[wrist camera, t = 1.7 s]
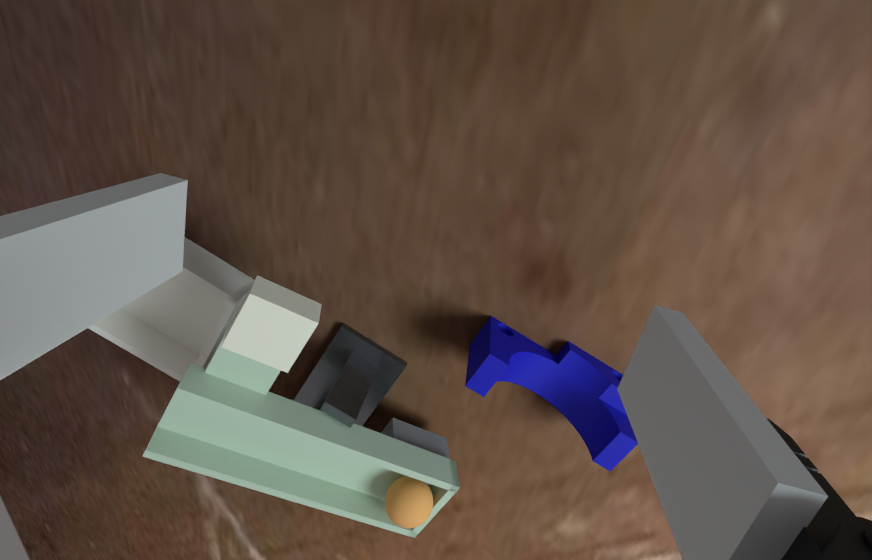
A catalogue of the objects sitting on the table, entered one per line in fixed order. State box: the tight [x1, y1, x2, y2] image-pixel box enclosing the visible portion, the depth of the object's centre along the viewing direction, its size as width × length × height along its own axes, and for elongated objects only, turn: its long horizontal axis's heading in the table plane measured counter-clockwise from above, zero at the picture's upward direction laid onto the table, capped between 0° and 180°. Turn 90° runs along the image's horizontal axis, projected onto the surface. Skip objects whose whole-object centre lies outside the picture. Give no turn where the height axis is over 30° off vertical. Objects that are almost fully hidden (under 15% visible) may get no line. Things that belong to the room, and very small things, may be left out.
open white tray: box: [88, 237, 254, 381], centre depth 40 cm, size 10×9×4 cm
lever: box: [143, 276, 460, 538], centre depth 35 cm, size 20×14×5 cm
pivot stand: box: [293, 323, 407, 428], centre depth 40 cm, size 6×11×8 cm, turn 147°
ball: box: [385, 476, 433, 528], centre depth 37 cm, size 4×4×4 cm
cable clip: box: [465, 316, 638, 471], centre depth 37 cm, size 12×4×6 cm, turn 59°
